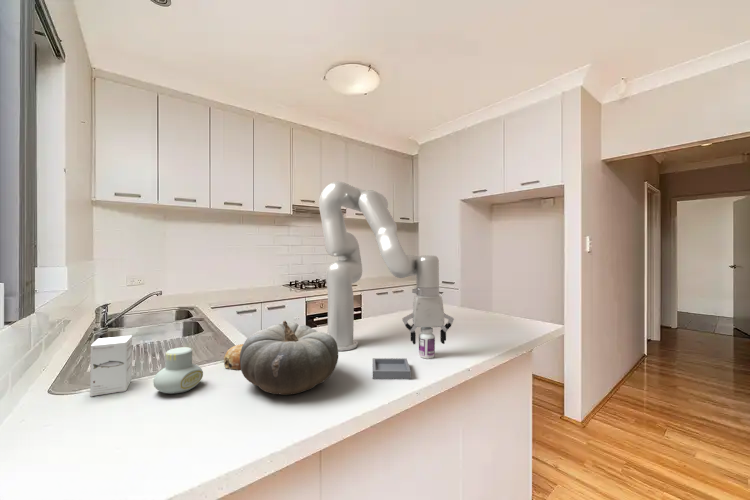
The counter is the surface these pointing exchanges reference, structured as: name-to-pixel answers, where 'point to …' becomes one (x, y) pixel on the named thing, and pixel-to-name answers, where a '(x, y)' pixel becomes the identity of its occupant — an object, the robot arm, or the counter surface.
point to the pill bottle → (426, 343)
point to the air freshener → (178, 372)
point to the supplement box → (110, 365)
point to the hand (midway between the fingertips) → (428, 342)
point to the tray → (391, 368)
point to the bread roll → (233, 357)
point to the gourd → (288, 358)
